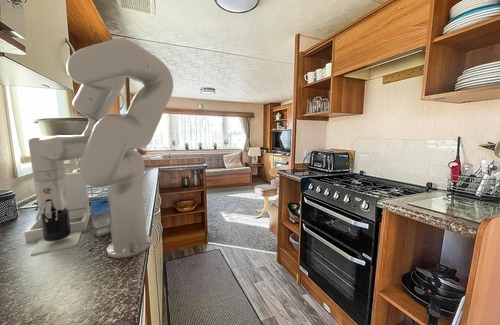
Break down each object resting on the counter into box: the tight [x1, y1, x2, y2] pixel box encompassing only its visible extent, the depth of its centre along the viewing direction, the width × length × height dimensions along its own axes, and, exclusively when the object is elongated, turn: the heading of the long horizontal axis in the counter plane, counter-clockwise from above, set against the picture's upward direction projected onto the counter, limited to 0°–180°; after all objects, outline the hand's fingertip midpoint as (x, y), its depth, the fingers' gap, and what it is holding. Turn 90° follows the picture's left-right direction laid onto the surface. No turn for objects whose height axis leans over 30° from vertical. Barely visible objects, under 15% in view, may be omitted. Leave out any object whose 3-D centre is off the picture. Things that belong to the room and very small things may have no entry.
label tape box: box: [89, 197, 111, 238], centre depth 78 cm, size 9×4×12 cm, turn 143°
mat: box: [30, 231, 83, 257], centre depth 71 cm, size 11×11×1 cm
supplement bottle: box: [41, 208, 71, 241], centre depth 70 cm, size 7×7×12 cm
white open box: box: [24, 171, 91, 243], centre depth 82 cm, size 18×16×20 cm
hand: (57, 227), depth 70 cm, fingers closed on supplement bottle, 6 cm apart
